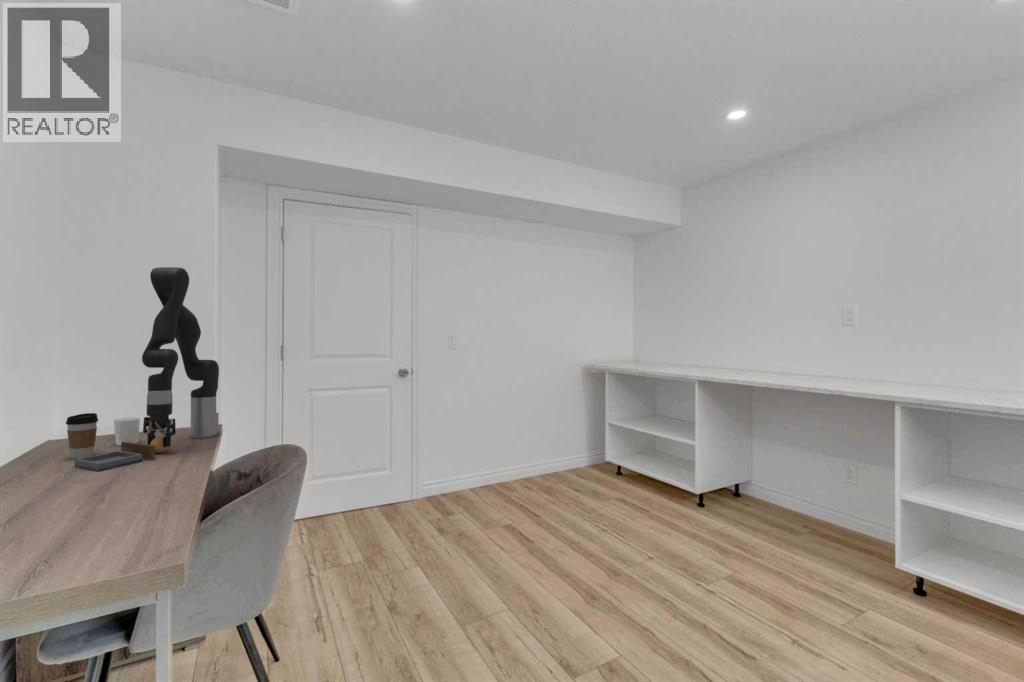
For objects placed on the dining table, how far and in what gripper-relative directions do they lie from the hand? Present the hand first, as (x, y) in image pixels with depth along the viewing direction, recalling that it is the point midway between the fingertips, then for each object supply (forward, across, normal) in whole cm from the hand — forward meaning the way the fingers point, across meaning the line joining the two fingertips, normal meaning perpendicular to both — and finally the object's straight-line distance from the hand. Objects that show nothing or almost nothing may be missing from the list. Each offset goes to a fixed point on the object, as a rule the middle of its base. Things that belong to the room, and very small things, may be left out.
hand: (158, 445), depth 166 cm
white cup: (+3, +26, -4) cm, 26 cm away
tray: (+3, 0, +16) cm, 16 cm away
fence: (+3, 0, +7) cm, 8 cm away
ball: (+3, 0, 0) cm, 3 cm away
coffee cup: (+3, +19, +14) cm, 23 cm away
